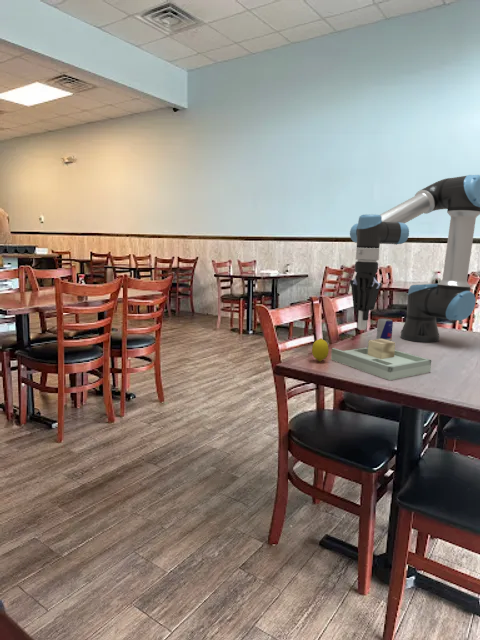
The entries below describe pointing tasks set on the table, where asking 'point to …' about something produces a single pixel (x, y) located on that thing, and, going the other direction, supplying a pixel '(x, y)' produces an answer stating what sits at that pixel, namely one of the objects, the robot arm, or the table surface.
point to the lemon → (320, 349)
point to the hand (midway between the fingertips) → (361, 329)
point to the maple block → (381, 348)
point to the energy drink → (384, 329)
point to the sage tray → (383, 363)
